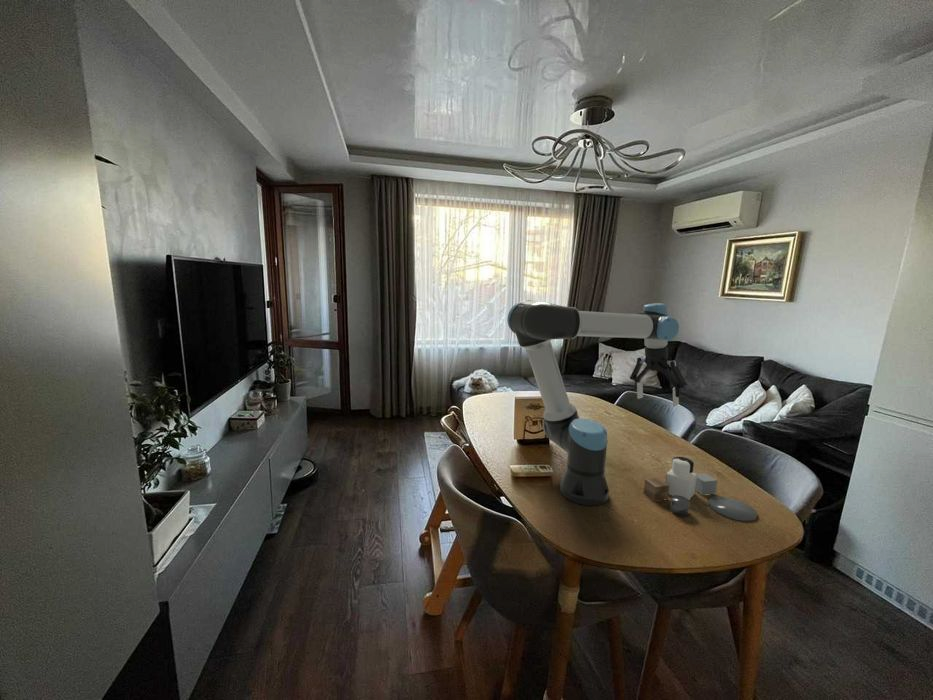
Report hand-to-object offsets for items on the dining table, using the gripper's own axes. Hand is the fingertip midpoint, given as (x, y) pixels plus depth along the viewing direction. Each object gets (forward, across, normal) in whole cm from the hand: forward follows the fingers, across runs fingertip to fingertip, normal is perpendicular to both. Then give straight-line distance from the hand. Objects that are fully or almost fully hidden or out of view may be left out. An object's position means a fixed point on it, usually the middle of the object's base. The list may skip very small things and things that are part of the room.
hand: (657, 401), depth 143 cm
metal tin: (+22, -21, +28) cm, 42 cm away
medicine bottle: (+24, -16, +17) cm, 33 cm away
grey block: (+25, -20, +9) cm, 33 cm away
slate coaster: (+25, -30, +13) cm, 41 cm away
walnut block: (+22, -13, +25) cm, 36 cm away
